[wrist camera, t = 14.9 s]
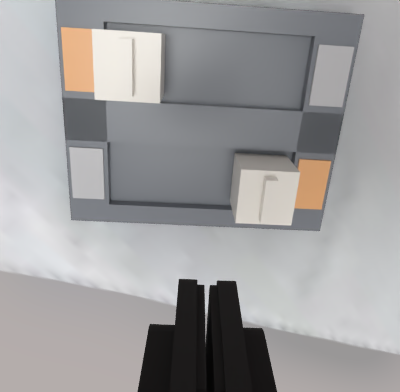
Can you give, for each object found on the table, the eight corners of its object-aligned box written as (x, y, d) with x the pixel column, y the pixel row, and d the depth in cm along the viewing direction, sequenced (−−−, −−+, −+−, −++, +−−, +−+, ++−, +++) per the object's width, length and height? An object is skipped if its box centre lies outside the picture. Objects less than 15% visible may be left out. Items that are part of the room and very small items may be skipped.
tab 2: (286, 155, 29) (303, 176, 25) (279, 203, 31) (294, 230, 26) (234, 152, 29) (242, 173, 25) (229, 200, 31) (236, 228, 26)
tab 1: (165, 34, 26) (160, 33, 21) (163, 94, 27) (159, 105, 23) (105, 30, 26) (88, 28, 21) (107, 91, 27) (91, 101, 23)
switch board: (352, 16, 27) (365, 14, 25) (312, 220, 33) (320, 232, 31) (64, -5, 26) (53, -9, 24) (78, 209, 32) (70, 221, 30)
